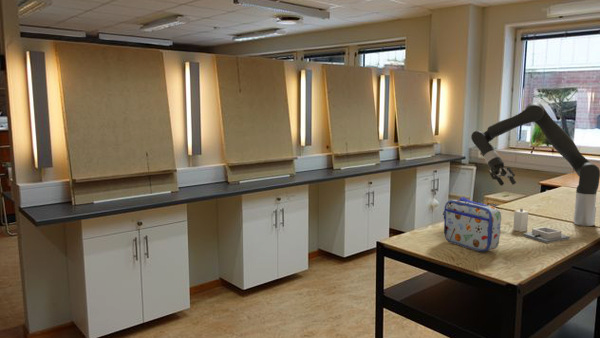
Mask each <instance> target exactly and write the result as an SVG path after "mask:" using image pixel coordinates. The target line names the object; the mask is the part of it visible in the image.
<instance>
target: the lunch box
mask: <svg viewBox="0 0 600 338" xmlns="http://www.w3.org/2000/svg"><path fill="white" fill-rule="evenodd" d="M477 202H478V201H472V200H470V199H468V198H467V197H465V196H462V197H459V199H452V200H448V201H446V203H445V205H444V211H443V212H442V216H443V227H444V228H443V234H444V238H445V239H446V241H448V242H449V243H451V244H454V245H456V244H457V245H456V246H459V245H460V247H463V248H466V249H469V250H474V251H477V252H487V251H490V250H495V249H497V248H498V246H499V243H500V236H501V234H500V233H501V225H502V224H501V223H502V213H501V211H500V210H499V209H498V208H496V207H495V206H493V205H488V204H486V203H485V204H484V203H481V202H479V203H477Z"/></svg>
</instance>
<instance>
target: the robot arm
mask: <svg viewBox="0 0 600 338" xmlns="http://www.w3.org/2000/svg"><path fill="white" fill-rule="evenodd" d="M531 123H535V124H536V125H537V126H538V127H539V128H540V130H541V132H542V133H543V135H544V137H545V138H546V140H547V142H549V144H550V145H551V146H552V147H553V148H554V150H555V151H556V152H557V153H558V154H559V155H561V157H563V159H565V160H566V161H567V162H568V163H569V165H571V167H572V168H573V170H574V172H575V173H576V174H577V176H578V177H579V178H578V185H577V187H576V189H575V190H576V191H575V203H574V214H573V224H575V225H578V226H583V227H592V226H594V225H595V224H596V223H595V222H596V211H597V207H596V203H597V193H598V189H599V185H600V168H599V167H598V166H597V165H596V164H593V163H592V162H591V161H589V160H588V159H587V158H586V157H585V156H584V155H583V154H582V153H581V152H580V150H579V149H578V147H577V145H576V144H575V142H574V141H573V139H572V138H571V137H570V136H569V135H568V134H567V132H566V131H565V130H564V128H562V127H561V126H560V125H559V124H558V123H557V122H555V121H554V120H553V118H552V117H551V116H550V115H549V113H548V112H547V110H546V109H545V107H544V106H543V104H541V103H539V102H536V101H534V102H530V103H528V104H527V106H526V107H525V109H524V110H523V111H521V112H519V113H518V114H515V115H514V116H511V117H508V118H505V119H503V120H500V121H498V122H496V123H494V124H492V125H490V126H488V127H487V130H486V131H484V132H483V131H482V130H481V131H480V130H475V131H473V132H472V133H471V135H470V136H471V141H472V142H473V144H474V145H475V146H476V147H477V149H478V150H479V152H480V153H481V155H482V156H483V158H484V161H485V163H486V164H487V166H488V168H489V170H488V173H489V175H490V177H491V179H492V180H496V181H497V182H498V184H499V186H504V185H505V182H504V181H503V178H501V177H504V178H507V179H508V180H509V181H510V183H511V185H515V184H517V182H516V180H515V178H514V177H515V176H516V174H515V173H514V171H513V170H512V168H511V167H509V166H507V167H505V163H504V160H503V159H502V158H501V157H500V154H499V153H498V152H497V151H496V150H495V148H494V146H493V145H492V144H491V143H490V142H491V141H493V140H494V139H495V138H497V137H499V136H501V135H504V134H505V133H507V132H509V131H512V130H514V129H515V128H518V127H521V126H524V125H526V124H531Z"/></svg>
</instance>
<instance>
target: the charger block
mask: <svg viewBox="0 0 600 338" xmlns="http://www.w3.org/2000/svg"><path fill="white" fill-rule="evenodd" d="M513 214H514V215H513V225H512V227H513V228H512V230H514V231H517V232H521V233H522V232H527V231H528V223H529V211H528V210H524V209H523V208H520V209H518V210H514V213H513Z"/></svg>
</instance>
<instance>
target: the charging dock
mask: <svg viewBox="0 0 600 338" xmlns="http://www.w3.org/2000/svg"><path fill="white" fill-rule="evenodd" d="M522 235H523V237H525V238H529V239H532V240H536V241H539V242H542V243H544V244H549V243H553V242H554V243H555V242H561V241H565V240H570V239H571V236H569V235H566V234H563V233H562V230H559V229H555V228H551V227H548V226H541V227H534V228H531V231H530V232H525V233H523V234H522Z"/></svg>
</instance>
